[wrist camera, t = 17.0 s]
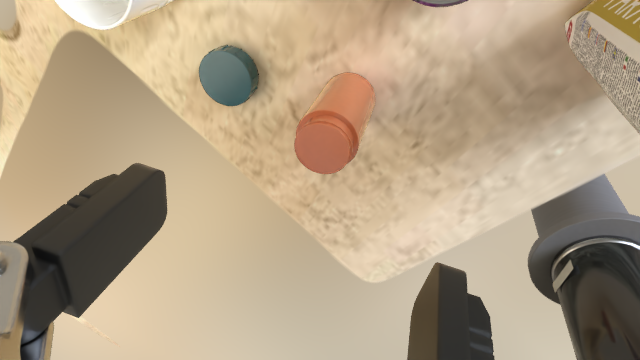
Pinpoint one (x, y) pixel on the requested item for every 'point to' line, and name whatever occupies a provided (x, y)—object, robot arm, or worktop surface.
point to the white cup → (108, 11)
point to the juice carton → (611, 50)
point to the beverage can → (440, 2)
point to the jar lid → (228, 75)
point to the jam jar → (335, 124)
